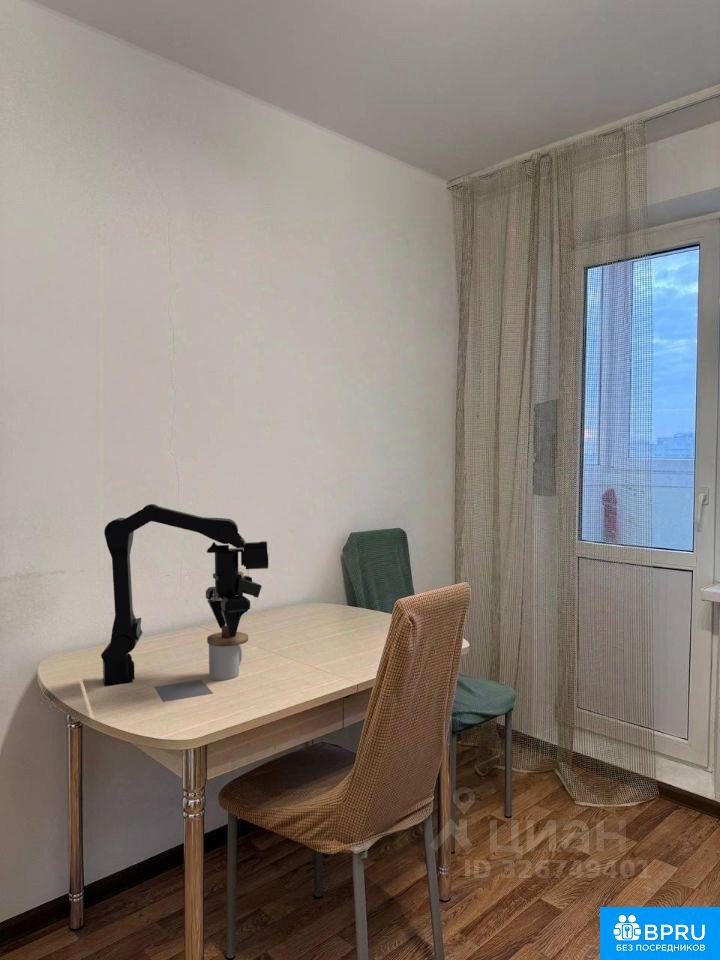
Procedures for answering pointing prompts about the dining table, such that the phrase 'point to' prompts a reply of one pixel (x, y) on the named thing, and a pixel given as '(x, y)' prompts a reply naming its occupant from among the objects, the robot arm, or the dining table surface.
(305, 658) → the dining table surface
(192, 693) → the mat
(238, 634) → the lid
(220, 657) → the cup
